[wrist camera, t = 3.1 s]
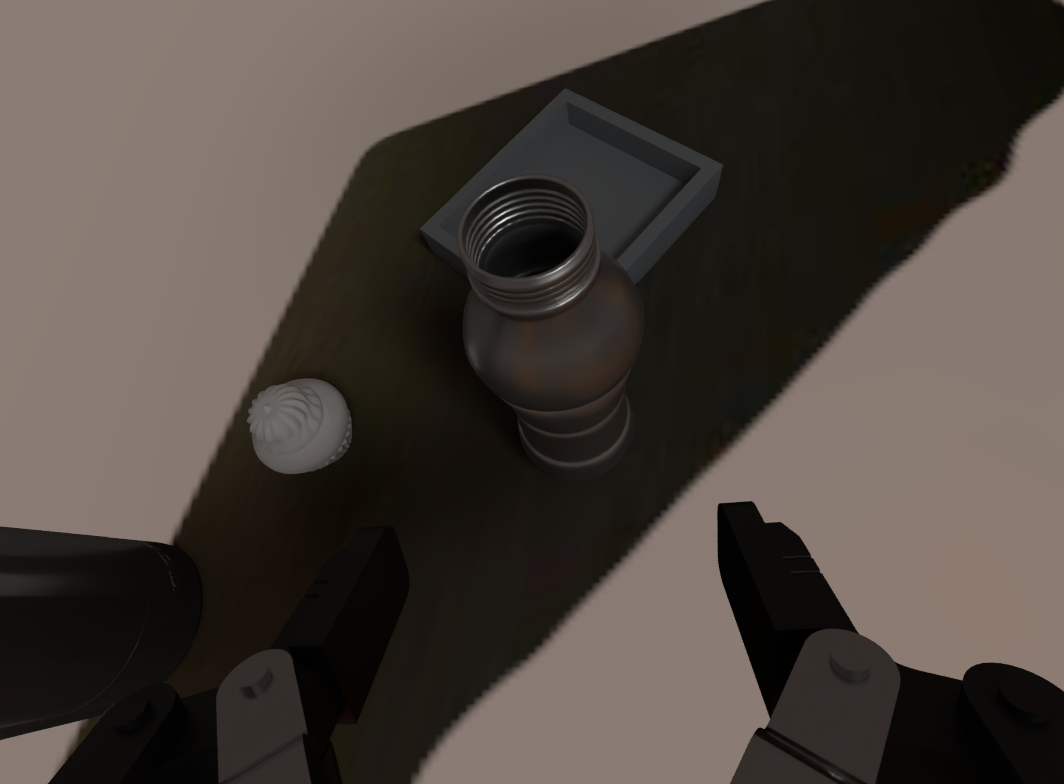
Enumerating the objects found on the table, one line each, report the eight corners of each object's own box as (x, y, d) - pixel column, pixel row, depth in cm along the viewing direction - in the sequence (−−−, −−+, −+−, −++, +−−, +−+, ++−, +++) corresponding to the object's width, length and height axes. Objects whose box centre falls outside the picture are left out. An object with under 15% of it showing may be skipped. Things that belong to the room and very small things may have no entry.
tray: (572, 355, 34) (567, 334, 31) (433, 254, 39) (419, 228, 36) (715, 196, 36) (722, 164, 34) (568, 121, 41) (565, 88, 39)
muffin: (390, 429, 34) (337, 392, 28) (329, 503, 33) (257, 482, 26) (331, 382, 36) (268, 337, 30) (271, 450, 35) (192, 419, 28)
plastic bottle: (523, 395, 33) (402, 157, 15) (626, 382, 32) (633, 113, 14) (530, 493, 31) (396, 352, 13) (641, 481, 30) (674, 312, 12)
